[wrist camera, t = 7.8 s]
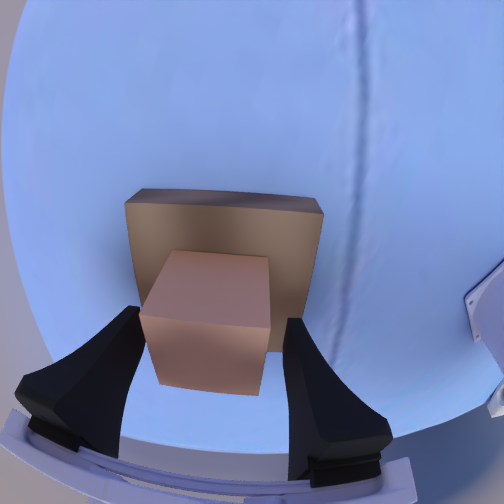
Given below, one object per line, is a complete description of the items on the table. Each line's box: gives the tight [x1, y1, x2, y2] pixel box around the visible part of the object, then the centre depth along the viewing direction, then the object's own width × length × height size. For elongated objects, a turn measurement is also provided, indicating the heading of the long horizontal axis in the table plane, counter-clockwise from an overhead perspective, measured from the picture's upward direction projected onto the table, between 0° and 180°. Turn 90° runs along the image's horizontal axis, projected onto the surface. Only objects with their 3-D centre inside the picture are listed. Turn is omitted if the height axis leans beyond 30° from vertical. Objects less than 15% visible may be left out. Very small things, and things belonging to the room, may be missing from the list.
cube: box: [139, 250, 271, 396], centre depth 13 cm, size 5×5×5 cm
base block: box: [124, 189, 324, 352], centre depth 17 cm, size 10×10×3 cm
